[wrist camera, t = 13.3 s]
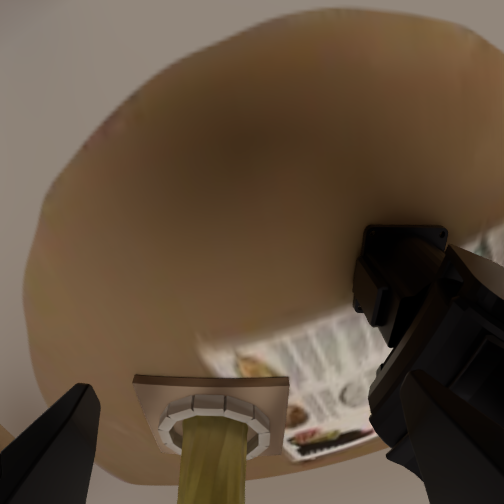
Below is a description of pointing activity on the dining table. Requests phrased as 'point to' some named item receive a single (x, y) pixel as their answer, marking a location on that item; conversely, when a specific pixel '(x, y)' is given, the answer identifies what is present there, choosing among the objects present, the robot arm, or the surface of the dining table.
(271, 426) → the socket board
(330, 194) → the dining table surface
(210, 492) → the vase
